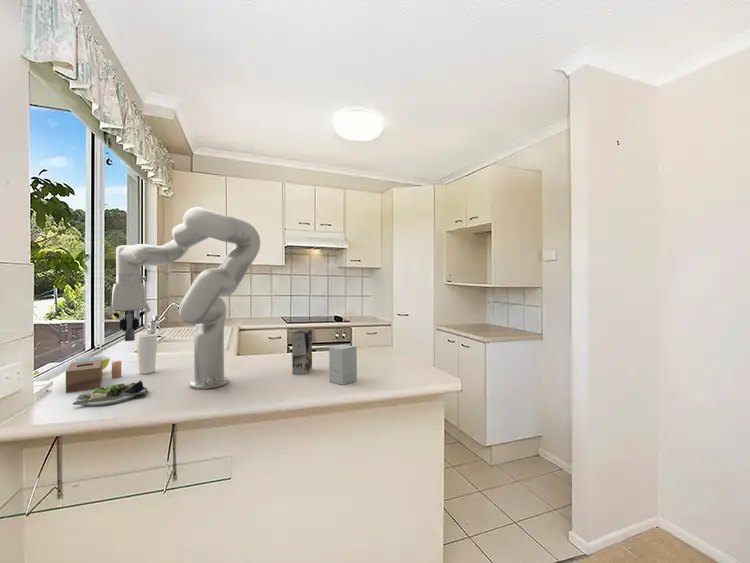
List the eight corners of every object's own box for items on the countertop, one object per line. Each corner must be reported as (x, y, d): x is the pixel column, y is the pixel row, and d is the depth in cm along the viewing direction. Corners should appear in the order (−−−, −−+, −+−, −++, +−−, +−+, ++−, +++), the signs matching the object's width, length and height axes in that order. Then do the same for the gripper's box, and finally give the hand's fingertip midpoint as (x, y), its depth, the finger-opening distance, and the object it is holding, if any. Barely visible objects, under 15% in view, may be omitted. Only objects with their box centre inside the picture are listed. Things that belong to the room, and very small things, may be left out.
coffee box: (308, 374, 140) (308, 333, 140) (291, 374, 140) (291, 333, 140) (312, 368, 149) (312, 329, 149) (297, 368, 149) (296, 329, 149)
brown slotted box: (100, 387, 124) (99, 367, 124) (65, 392, 118) (65, 371, 118) (102, 377, 137) (102, 359, 137) (71, 381, 132) (71, 362, 132)
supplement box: (357, 381, 130) (357, 346, 130) (342, 385, 125) (342, 349, 125) (343, 377, 135) (343, 343, 135) (328, 381, 130) (328, 346, 130)
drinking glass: (161, 370, 147) (160, 334, 147) (149, 374, 141) (148, 336, 141) (145, 370, 148) (145, 333, 148) (133, 374, 141) (132, 336, 141)
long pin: (134, 340, 130) (134, 307, 130) (124, 341, 128) (124, 307, 128) (134, 339, 132) (134, 306, 132) (124, 340, 131) (124, 307, 131)
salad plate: (86, 414, 99) (86, 398, 99) (57, 404, 108) (57, 389, 108) (157, 395, 116) (157, 381, 116) (127, 387, 125) (127, 374, 125)
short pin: (121, 377, 137) (121, 361, 137) (111, 378, 136) (111, 362, 136) (121, 375, 140) (121, 360, 140) (111, 376, 138) (111, 361, 138)
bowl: (116, 371, 147) (116, 356, 147) (95, 378, 136) (95, 362, 136) (88, 371, 147) (88, 356, 147) (65, 379, 135) (64, 362, 135)
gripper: (154, 279, 138) (155, 327, 138) (101, 279, 129) (101, 331, 129) (156, 279, 132) (156, 329, 132) (100, 279, 122) (100, 333, 122)
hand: (129, 329), depth 130 cm, fingers closed on long pin, 3 cm apart
